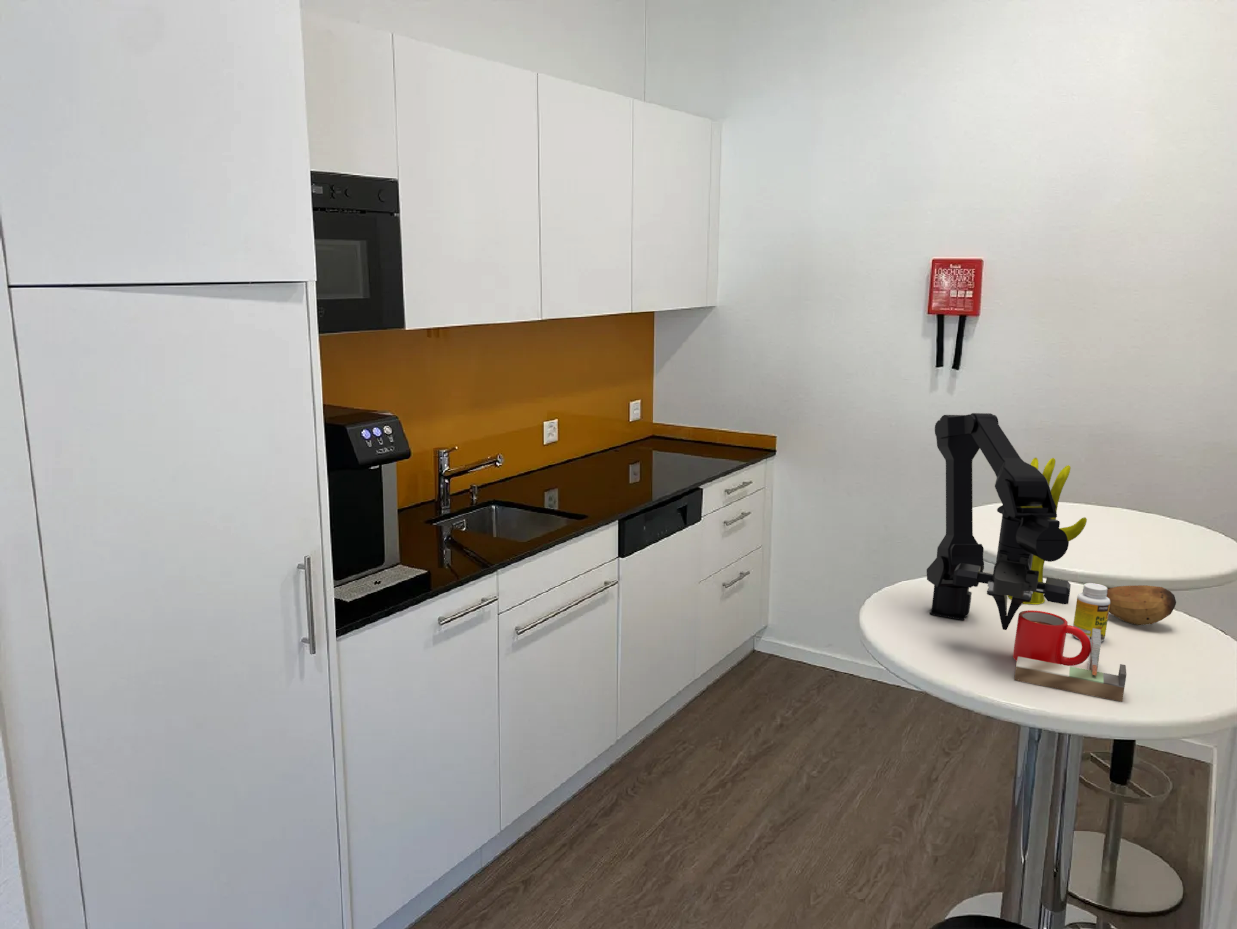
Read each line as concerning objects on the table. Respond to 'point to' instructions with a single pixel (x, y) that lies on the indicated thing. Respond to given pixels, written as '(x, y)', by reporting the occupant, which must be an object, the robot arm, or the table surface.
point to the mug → (1047, 638)
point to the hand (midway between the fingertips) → (1004, 629)
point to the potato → (1140, 603)
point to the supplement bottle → (1092, 609)
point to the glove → (1069, 531)
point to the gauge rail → (1071, 678)
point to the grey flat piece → (1094, 651)
